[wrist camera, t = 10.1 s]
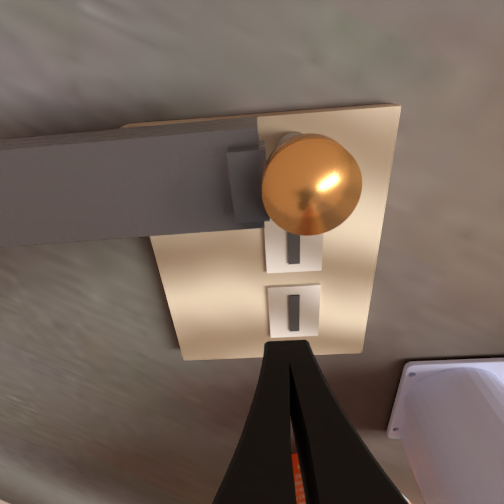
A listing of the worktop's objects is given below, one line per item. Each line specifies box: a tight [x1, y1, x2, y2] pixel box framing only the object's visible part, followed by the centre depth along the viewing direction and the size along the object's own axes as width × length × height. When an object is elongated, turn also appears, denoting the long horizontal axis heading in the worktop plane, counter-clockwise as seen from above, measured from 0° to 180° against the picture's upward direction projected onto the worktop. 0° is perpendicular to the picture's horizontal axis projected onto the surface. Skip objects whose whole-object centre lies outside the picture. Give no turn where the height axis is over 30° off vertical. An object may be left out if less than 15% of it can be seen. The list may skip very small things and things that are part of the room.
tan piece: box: [120, 103, 401, 361], centre depth 16 cm, size 15×12×5 cm
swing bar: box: [0, 116, 362, 247], centre depth 11 cm, size 14×4×4 cm, turn 95°
